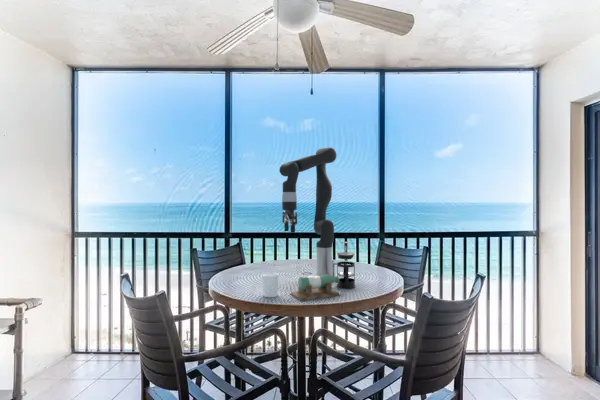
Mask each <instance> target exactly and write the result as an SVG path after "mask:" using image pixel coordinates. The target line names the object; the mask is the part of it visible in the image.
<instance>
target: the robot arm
mask: <svg viewBox="0 0 600 400" xmlns="http://www.w3.org/2000/svg"><path fill="white" fill-rule="evenodd" d="M336 159H337V151H336V150H335V148H333V147H331V146H330V147H329V146H327V147H320V148H318V149H316V152H315V154H312V155H307V156H303V157H300V158H298V159H296V160H291V161H288V162H284V163H282V164H281V165H280V166H279V173H280V175H281V176H282V177H287V178H286V180H285V181H283V182H282V196H281V198H282V199H281V205H282V206H281V207H282V210H283V211H282V221H281V222H282V223H283V225H284V226H283V227H284V232H289V231H290V233H294V234H295V232H296V225H297V224H298V213H297V212H295V211H297V203H298V202H297V201H298V200H297V198H298V197H297V182H298V177H299V174H300V173H301V172H302V173H303V172H305V171H307V170H310V169H312V168H315V169H316V171H315V173H316V186H315V187H316V189H315V213H314V218H313V219H314V221H313V230H314V232H315V234H317V235H320V238H319V240H318V241H316V245H315V247H316V248H315V249H316V252H315V253H316V254H315V255H316V257H315V258H316V275H325V274H327V275H329V277H330V278H331V277H335V268H334V269H333V264H334V263H335V262H334V261H335V260H334V259H333V243H334V240H335V238H334V237H335V227H334V226H335V225H334V223H333V221H332V220H330V219H327V218H326V217H327V209H328V207H329V206H330V203H331V200H332V194H333V191H332V190H333V188H332V187H333V186H332V182H331V181H330V178H329V177H328V174H327V171H326V168H327V167H326V165H327V164H331V163H333V162H335V161H336ZM289 224H290V226H289Z"/></svg>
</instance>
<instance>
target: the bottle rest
mask: <svg viewBox="0 0 600 400" xmlns="http://www.w3.org/2000/svg"><path fill="white" fill-rule="evenodd" d="M332 285H333V283H331V282H327V283H326V287H325V288H319V289H312V285H306V290H302V291H301V290H300V289H299V288H298V290H297V291H291V292H290V296H292V297H294V298H295V299H296V300H298V301H300V302H303V301H310V300H317V299H324V298H331V297H338V296H340V292H339V291H336V290H335V289H333V288H332Z"/></svg>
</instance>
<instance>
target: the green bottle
mask: <svg viewBox="0 0 600 400" xmlns="http://www.w3.org/2000/svg"><path fill="white" fill-rule="evenodd" d="M339 277H340V276H339V275H338V276H337V275H336V276H335V275H334V276H333V277H329V275H327V274H325V275H317V274H315V275H308V276H301V277H300V276H299V278H298V280H297V285H298V290H299V289H300V290H301V291H302V290H306V285H312V289H319V288H325V287H326V283H327V282H331V283H332V284H337V283H339Z"/></svg>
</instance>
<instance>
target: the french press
mask: <svg viewBox="0 0 600 400" xmlns="http://www.w3.org/2000/svg"><path fill="white" fill-rule="evenodd" d="M341 243H342V244H344V246H345V250H344V252H337V253H336V254H337V258H338V259H339V260H352V259H354V256H355V254H356V253H354V252H349V251H347V244H350V243H351V242H349V241H341ZM355 264H356V263H355V262H353V261H338V262H336V263H335V262H334V264H333V269H334V270H335V265H336V266H337V267H336V269H337V270H336V276H338V277H340V278H339V283H336V288H339V289H345V290H348V289H349V290H350V289H355V288H356V279H355V278H356V277H355V276H356V273H355V271H356V265H355ZM339 268H343V272H339ZM349 268H353V272H350V271H349ZM350 277H351V278H350ZM352 277H353V278H352Z"/></svg>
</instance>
